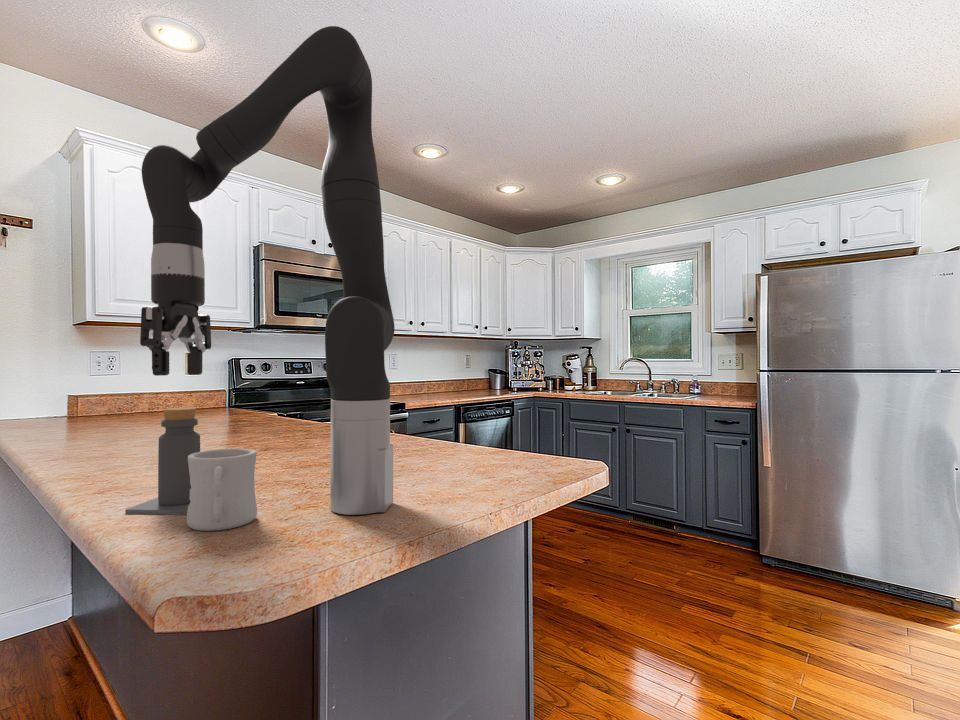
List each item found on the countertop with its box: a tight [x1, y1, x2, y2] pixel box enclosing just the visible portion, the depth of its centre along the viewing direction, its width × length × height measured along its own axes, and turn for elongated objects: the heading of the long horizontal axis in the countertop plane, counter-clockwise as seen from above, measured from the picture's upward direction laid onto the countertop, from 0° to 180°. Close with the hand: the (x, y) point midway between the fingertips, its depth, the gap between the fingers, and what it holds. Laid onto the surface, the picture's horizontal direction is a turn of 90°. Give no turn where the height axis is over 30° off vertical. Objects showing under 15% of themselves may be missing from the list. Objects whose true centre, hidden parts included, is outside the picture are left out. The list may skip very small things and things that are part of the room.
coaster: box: [125, 496, 189, 515], centre depth 82 cm, size 10×10×1 cm
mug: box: [186, 448, 258, 532], centre depth 72 cm, size 12×9×10 cm
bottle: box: [157, 407, 201, 506], centre depth 83 cm, size 6×6×15 cm
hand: (178, 375), depth 83 cm, fingers open, 8 cm apart
